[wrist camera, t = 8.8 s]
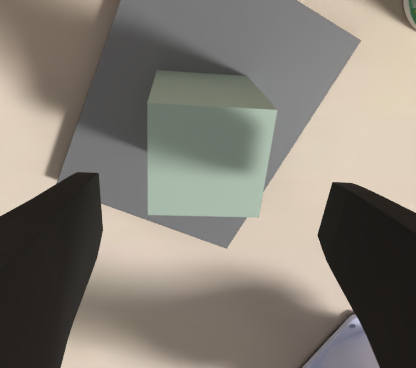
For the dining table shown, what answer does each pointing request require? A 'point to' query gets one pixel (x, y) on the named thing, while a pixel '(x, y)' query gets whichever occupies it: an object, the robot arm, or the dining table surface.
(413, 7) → the supplement bottle
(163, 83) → the sage block
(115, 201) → the slate board
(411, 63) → the dining table surface
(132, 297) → the dining table surface
